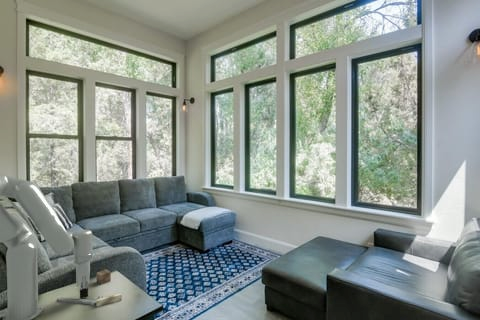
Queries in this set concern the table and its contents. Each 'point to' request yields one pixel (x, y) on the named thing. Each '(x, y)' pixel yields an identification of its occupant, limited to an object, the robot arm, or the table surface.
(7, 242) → the robot arm
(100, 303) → the rail
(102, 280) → the walnut block
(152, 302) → the table surface
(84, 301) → the caliper
